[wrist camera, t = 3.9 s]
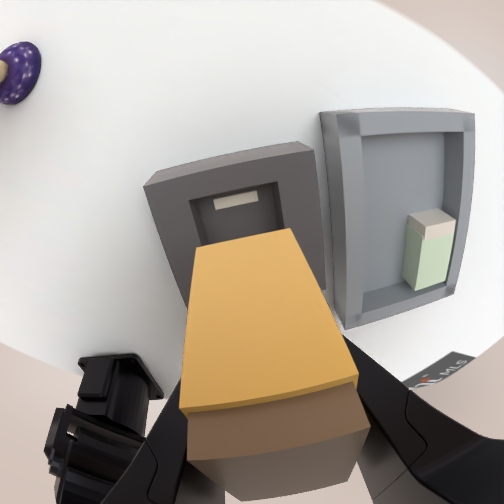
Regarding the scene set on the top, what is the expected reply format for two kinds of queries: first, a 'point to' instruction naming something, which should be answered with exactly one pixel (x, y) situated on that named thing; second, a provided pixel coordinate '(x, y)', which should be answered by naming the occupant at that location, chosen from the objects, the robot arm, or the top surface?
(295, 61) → the top surface
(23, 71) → the toy lamp
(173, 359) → the top surface
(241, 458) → the block
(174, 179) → the fuse holder
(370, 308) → the parts tray
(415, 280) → the block
